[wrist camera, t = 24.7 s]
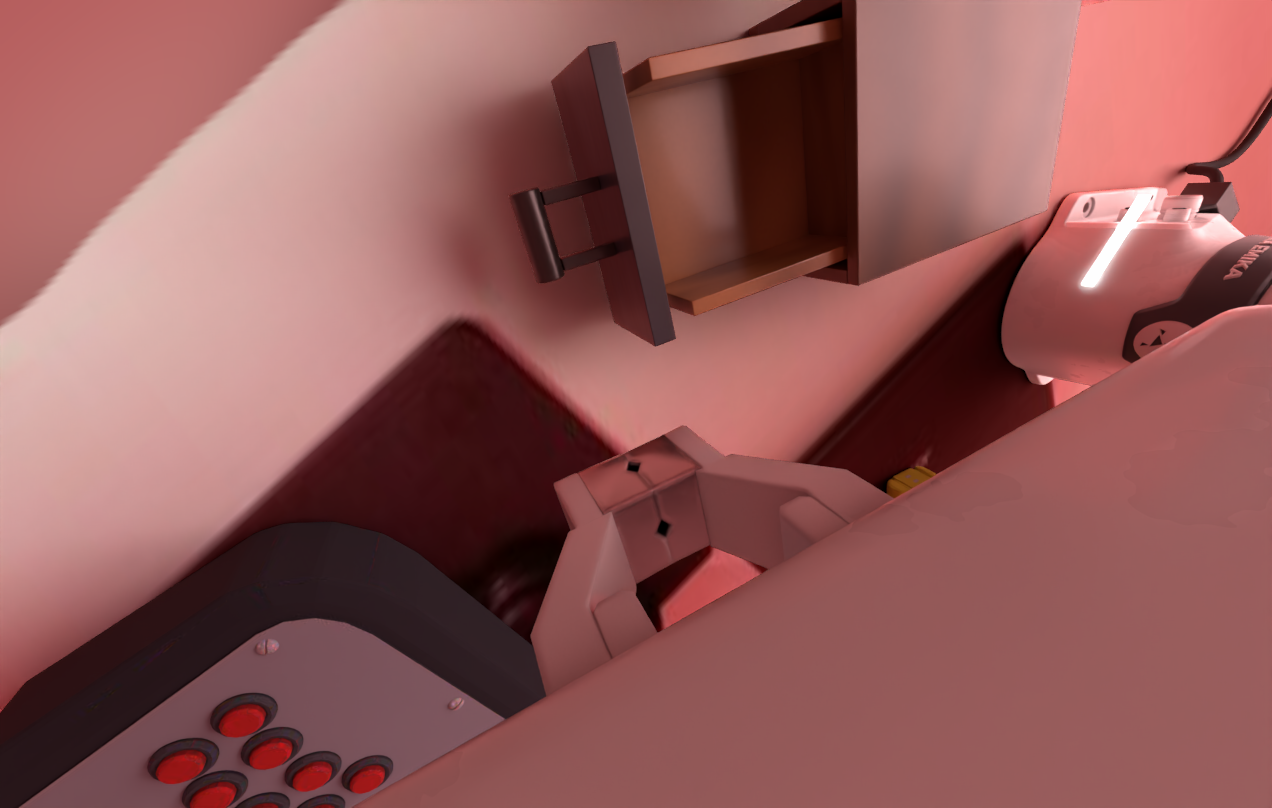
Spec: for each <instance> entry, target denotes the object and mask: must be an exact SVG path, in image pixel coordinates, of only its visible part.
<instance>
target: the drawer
mask: <svg viewBox="0 0 1272 808" xmlns="http://www.w3.org/2000/svg"><path fill="white" fill-rule="evenodd" d="M551 83H552V87H553V91H554V95H555V98H556V102H557V106H558V110H559V114H560V117H561V121H562V125H563V129H564V133H565V136H566V140H567V144H568V148H569V152H570V155H571V159H572V163H573V167H574V171H575V174H576V178H577V181H576V182H572V183H569V184H565V185H561V186H558V187H554V188H550V189H547V190H543V191H540V190H539V188H538V187H536V188H531V189H527V190H524V191H520V192H516V193H513V194H510V195H509V200H510V203H511V206H512V209H513V212H514V215H515V218H516V221H517V224H518V227H519V230H520V233H521V236H522V239H523V242H524V245H525V248H526V251H527V254H528V257H529V260H530V263H531V266H532V270H533V273H534V276H535V279H536V282H537V283H548V282H552V281H555V280H558V279H560V278H562V277H563V276H564V274H565V273H564V271H567V270H570V269H573V268H576V267H579V266H582V265H586V264H589V263H592V262H595V261H598V262H599V266H600V270H601V273H602V277H603V281H604V285H605V289H606V292H607V296H608V300H609V304H610V308H611V311H612V315H613V319H614V322H615V323H616V324H618V325H619V326H621V327H623V328H624V329H626V330H628V331H630V332H631V333H633V334H635V335H636V336H638V337H640V338H641V339H643V340H645V341H647V342H648V343H650V344H652V345H653V346H655V347H656V346H658V345H661V344H664V343H666V342H669V341H671V340H674V339H676V337H675V332H674V327H673V322H672V317H671V312H670V307H673V308H675V309H678V310H680V311H683V312H685V313H688V314H690V315H693V316H696V315H699V314H701V313H704V312H707V311H709V310H712V309H715V308H717V307H720V306H723V305H725V304H728V303H731V302H733V301H736V300H739V299H741V298H744V297H747V296H749V295H752V294H755V293H757V292H760V291H763V290H765V289H768V288H770V287H773V286H776V285H778V284H781V283H784V282H786V281H789V280H792V279H794V278H797V277H800V276H802V275H805V274H808V273H810V272H813V271H816V270H818V269H821V268H824V267H826V266H829V265H832V264H834V263H837V262H840V261H842V260H845V259H847V218H846V170H845V122H844V74H843V26H842V17H841V18H837V19H832V20H827V21H822V22H817V23H813V24H808V25H803V26H798V27H793V28H789V29H784V30H779V31H774V32H770V33H765V34H760V35H755V36H750V37H746V38H741V39H736V40H731V41H726V42H722V43H717V44H712V45H707V46H702V47H698V48H693V49H688V50H683V51H678V52H674V53H669V54H664V55H659V56H655V57H650V58H647V59H646V60H644V61H643V62H641V63H640V64H638V65H637V66H635V67H633V68H632V69H630V70H629V71H627V72H626V73H624V74H623V75H622V71H621V66H620V61H619V56H618V51H617V46H616V42H615V41H613V42H608V43H603V44H598V45H593V46H588V47H587V48H586V49H585V50H584V51H583V52H582V53H580V54H579V55H578V56H577V57H576V58H575V59H574V60H573V61H572V62H571V63H570V64H569V65H568V66H567V67H566V68H565V69H564V70H562V71H561V72H560V73H559V74H558V75H557V76H556V77H555V78H554V79H553V80H552V81H551ZM577 196H581V197H582V201H583V205H584V209H585V213H586V216H587V220H588V224H589V228H590V232H591V235H592V239H593V243H594V247H592V248H589V249H585V250H582V251H579V252H576V253H573V254H569V255H566V256H563V257H559V253H558V250H557V247H556V243H555V240H554V237H553V233H552V230H551V227H550V223H549V220H548V217H547V213H546V210H545V207H544V205H549V204H553V203H556V202H560V201H563V200H567V199H570V198H574V197H577ZM669 306H670V307H669Z"/></svg>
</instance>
